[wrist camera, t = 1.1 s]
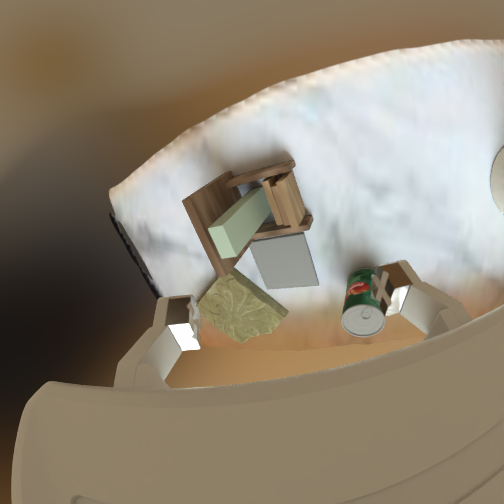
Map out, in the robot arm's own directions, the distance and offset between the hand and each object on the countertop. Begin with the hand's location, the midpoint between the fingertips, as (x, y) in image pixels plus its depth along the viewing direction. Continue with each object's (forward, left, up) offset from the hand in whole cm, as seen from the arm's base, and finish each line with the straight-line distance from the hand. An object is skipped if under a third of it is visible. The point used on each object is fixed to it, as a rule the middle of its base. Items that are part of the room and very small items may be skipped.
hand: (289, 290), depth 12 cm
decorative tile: (+34, +32, -37) cm, 59 cm away
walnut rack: (+16, +6, -36) cm, 40 cm away
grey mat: (+18, +20, -36) cm, 45 cm away
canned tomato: (+2, +27, -36) cm, 45 cm away
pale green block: (+18, +6, -36) cm, 40 cm away
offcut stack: (+12, +6, -36) cm, 38 cm away
